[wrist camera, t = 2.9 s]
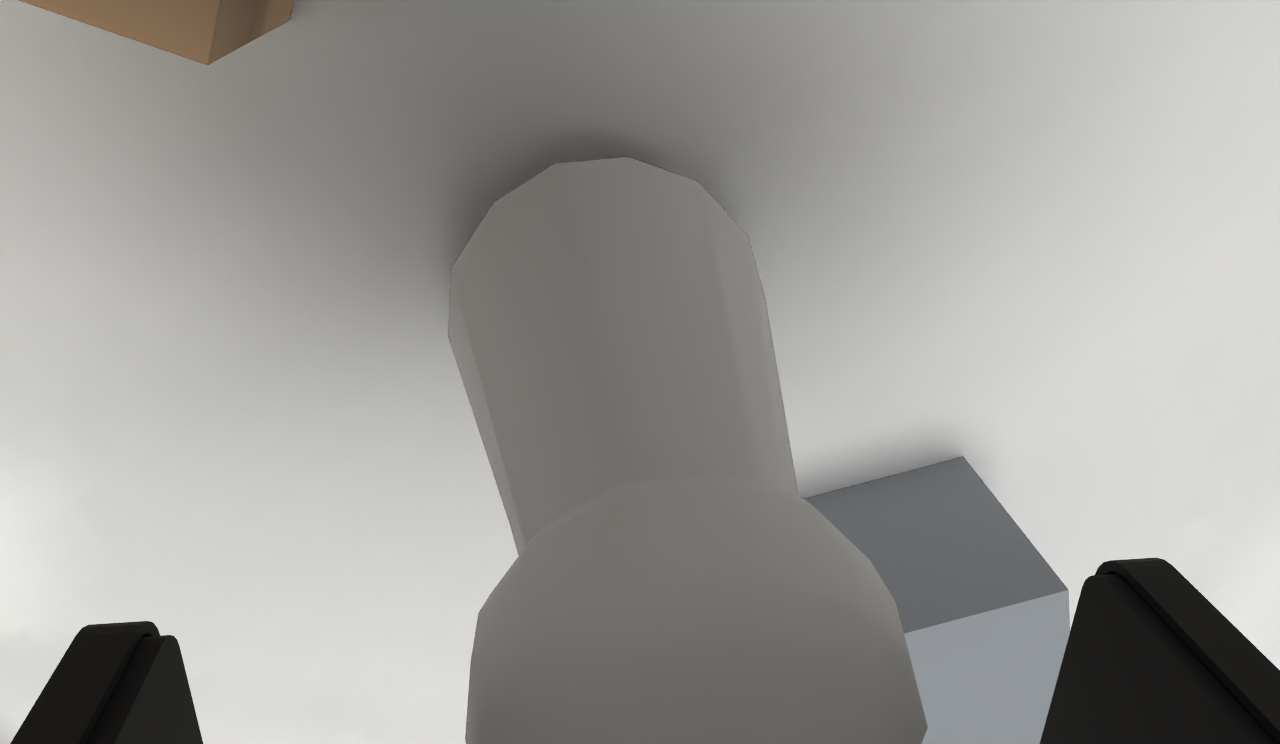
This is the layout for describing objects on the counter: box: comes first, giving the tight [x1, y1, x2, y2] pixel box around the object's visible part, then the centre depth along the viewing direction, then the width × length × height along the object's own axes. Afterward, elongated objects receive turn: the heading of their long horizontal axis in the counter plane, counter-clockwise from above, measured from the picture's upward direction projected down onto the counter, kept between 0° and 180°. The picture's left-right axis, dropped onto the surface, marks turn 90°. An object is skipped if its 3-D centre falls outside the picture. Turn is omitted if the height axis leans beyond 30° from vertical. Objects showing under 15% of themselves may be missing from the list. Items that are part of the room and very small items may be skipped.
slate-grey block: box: [804, 457, 1070, 744], centre depth 22 cm, size 5×5×5 cm
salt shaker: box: [448, 157, 928, 744], centre depth 14 cm, size 6×6×13 cm
